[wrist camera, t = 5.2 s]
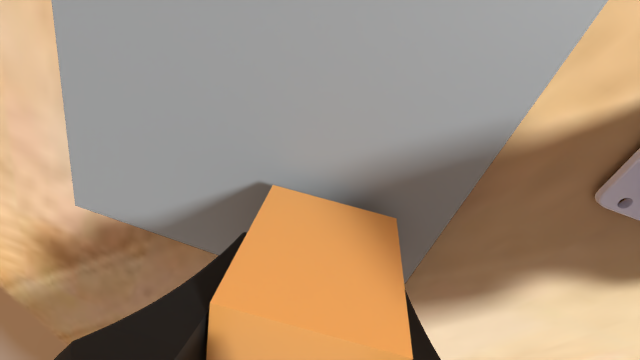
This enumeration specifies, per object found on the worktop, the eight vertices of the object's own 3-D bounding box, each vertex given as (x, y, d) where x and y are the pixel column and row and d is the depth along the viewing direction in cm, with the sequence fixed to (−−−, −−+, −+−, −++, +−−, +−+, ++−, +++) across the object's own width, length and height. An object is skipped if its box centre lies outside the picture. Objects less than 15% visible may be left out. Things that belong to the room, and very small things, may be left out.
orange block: (396, 218, 13) (413, 358, 8) (359, 299, 16) (354, 443, 11) (272, 184, 13) (209, 302, 8) (257, 271, 16) (203, 401, 11)
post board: (634, -68, 9) (907, -139, 5) (383, 298, 18) (387, 400, 14) (47, -313, 9) (-352, -700, 4) (89, 195, 18) (-13, 266, 13)
